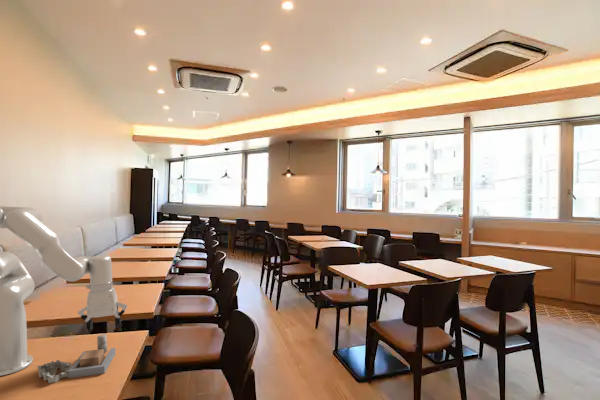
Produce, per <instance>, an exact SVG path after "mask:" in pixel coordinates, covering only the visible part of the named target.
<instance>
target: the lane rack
mask: <svg viewBox="0 0 600 400" xmlns="http://www.w3.org/2000/svg"><path fill="white" fill-rule="evenodd" d="M86 351H87V350H86ZM86 351H83V352H82V353H81V354H80V356H79V357H78V358H77V360H76V361H75V362H74V363H73V364H72V365H73V366H72V367H71V369H70V370H69V377H68V379H73V378H80V377H88V376H95V375H103V374H105V373H106V371H107V370H108V368H109V366H110V365H111V363H112V361H113V359H114V357H115V355H116V347H112V348H110V349H109V351H108V352H107V354H106V356H105V357H104V361H103V362H102V364H101V365H96V366H88V367H80V358H81V357H82V356H83V354H84V353H85V352H86Z"/></svg>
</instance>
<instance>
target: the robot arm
mask: <svg viewBox="0 0 600 400" xmlns="http://www.w3.org/2000/svg"><path fill="white" fill-rule="evenodd" d="M42 220H43V216H42V214H41V212H40V211H38V209H35V208H33V207H23V206H21V207H19V206H5V205H4V206H3V205H0V229H8V230H9V231H10V232H11V233H12V234H14V235H15V236H16V237H18V238H19V239H20V240H22V241H23V242H24V243H25V244H27V245H28V246H29V247H31V248H32V249H33V250H34V251H35V252H36V253H37V255H38V257H39V258H40V259H41V260H42V263H44V265H45V266H46V267H47V268H48V269H49V270H51V271H52V272H53V273H54V274H56V275H57V276H58V277H59V278H61V279H63V280H65V281H67V282H76V281H79V280H81V279H82V278H83V277H84V276H86V275H88V274H89V282H90V283H89V284H88V285H86V290H88V289H89V291H88V293H87V297H86V298H87V300H86V306H84V307H83V308H80V309H79V310H78V311H77V314H78V315H79V316H80V318H81V319H82V320H83V321H84V322H85V323H86V330H87V332H88V333H91V331H92V330H93V329H94V321H93V319H95V318H102V317H108V316H110V317H111V316H114V317H115V319H114V324H115V329H118V328H119V327H120V326H121V325H122V321H121V319H122V318H121V317H122V315H124V313H125V312H126V310H127V308H128V304H126V303H122V302H119V301H118V295H117V291H116V288H115V287H114V285H113V284H114V283H113V281H114V280H113V266H112V264H113V263H112V257H111V256H110V255H107V254H106V255H105V254H104V255H103V254H100V255H95V256H88V255H87V256H86V255H85V256H84V255H83V256H82V255H80V256H76V257H72V256H71V255H70V254H69V253H68V252H67V251H65V249H64V248H63V247H62V245H61V242H60V237H59V235H58V234H57V233H56V232H55V231H54V230H53V229H52V228H51V227H49V226H48V225H47V224H45V222H43V221H42ZM35 284H36V283H35V282H34V278H32V276H31V274H30V273H29V271H28V269H27V268H26V267H25V265H24V264H23V262H22V260H21V258H19V257H18V256H17V255H16V254H14V253H12V252H9V251H0V377H1V376H7V375H9V374H10V375H11V374H13V373H17V372H19V371H21V370H23V369H26V368H27V367H29V366H30V365H31V364H32V363H33V360H34V357H33V356H32V355H30V354H28V336H27V335H28V333H27V332H28V331H27V329H28V328H27V327H28V326H27V312H26V308H25V305H24V301H25V300H26V299H27V298H28V297H30V295H32V294H33V292H34V290H35ZM119 308H121V310H120V311H119ZM85 312H86V313H85Z"/></svg>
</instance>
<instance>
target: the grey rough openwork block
mask: <svg viewBox="0 0 600 400" xmlns="http://www.w3.org/2000/svg"><path fill="white" fill-rule="evenodd" d="M73 365H74V364H73V363H72V362H69V363H68V362H66V361H61V360H60V359H57V360H56V361H53V360H52V361H51V362H46V363H44V364H43V365H37V370H38V377H39V378H43V381H48V382H47V383H48V384H51V383H52V384H53V383H57V382H59V381H60V380H61V379H63V378H69V370H70V369H71V367H72V366H73ZM58 369H59V371H62V372H59V373H58ZM57 373H58V374H57Z"/></svg>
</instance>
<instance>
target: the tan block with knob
mask: <svg viewBox="0 0 600 400" xmlns="http://www.w3.org/2000/svg"><path fill="white" fill-rule="evenodd" d="M107 337H108V336H107V334H100V335H98V336H97V339H96V340H97V342H96V343H97V345H96V346H97V349H93V350H92V349H91V350H86V352H85V353H84V354H83V356H82V357H81V358H80V367H88V366H96V365H101V364H102V362H103V361H104V359H105V352H107V350H108V343H107V342H108V340H107V339H108V338H107Z"/></svg>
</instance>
